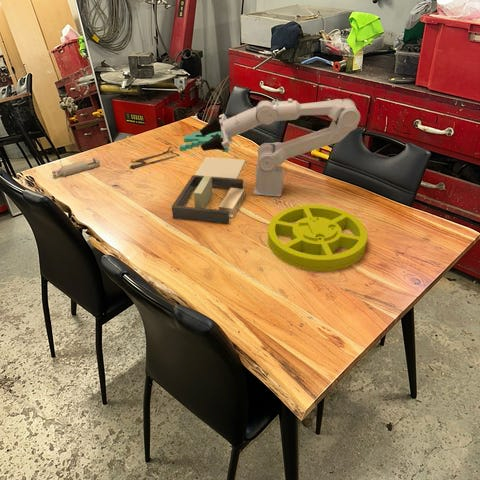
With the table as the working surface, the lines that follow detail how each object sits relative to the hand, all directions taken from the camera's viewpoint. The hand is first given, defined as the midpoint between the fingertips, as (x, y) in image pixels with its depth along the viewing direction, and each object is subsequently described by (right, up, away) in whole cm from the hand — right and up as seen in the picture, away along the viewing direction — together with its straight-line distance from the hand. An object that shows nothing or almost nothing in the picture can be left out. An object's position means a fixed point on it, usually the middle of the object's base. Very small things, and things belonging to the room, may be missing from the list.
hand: (201, 140), depth 141 cm
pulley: (+34, -33, -15) cm, 50 cm away
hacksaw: (-22, +1, +34) cm, 41 cm away
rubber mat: (+5, -6, +23) cm, 24 cm away
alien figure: (-1, +9, +46) cm, 47 cm away
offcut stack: (+10, -21, +2) cm, 24 cm away
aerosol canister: (-50, -6, +25) cm, 56 cm away
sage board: (+1, -20, +4) cm, 20 cm away
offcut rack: (+3, -20, +3) cm, 20 cm away
